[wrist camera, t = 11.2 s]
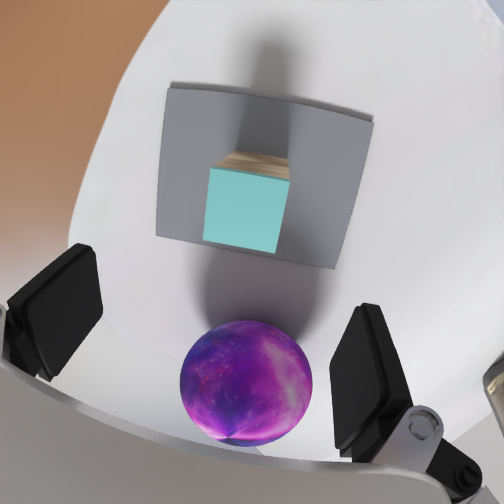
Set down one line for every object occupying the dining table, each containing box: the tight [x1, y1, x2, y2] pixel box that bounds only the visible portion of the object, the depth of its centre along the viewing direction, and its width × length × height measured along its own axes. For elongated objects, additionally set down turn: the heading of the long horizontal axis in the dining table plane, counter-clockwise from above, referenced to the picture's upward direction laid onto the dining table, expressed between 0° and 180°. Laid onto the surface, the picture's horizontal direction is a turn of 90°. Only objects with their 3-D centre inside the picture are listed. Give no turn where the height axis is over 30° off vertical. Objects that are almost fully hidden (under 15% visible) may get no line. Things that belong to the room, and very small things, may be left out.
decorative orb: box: [180, 321, 313, 447], centre depth 31 cm, size 15×15×15 cm
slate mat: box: [156, 88, 374, 270], centre depth 28 cm, size 20×16×1 cm
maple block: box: [203, 150, 290, 253], centre depth 23 cm, size 5×5×10 cm
